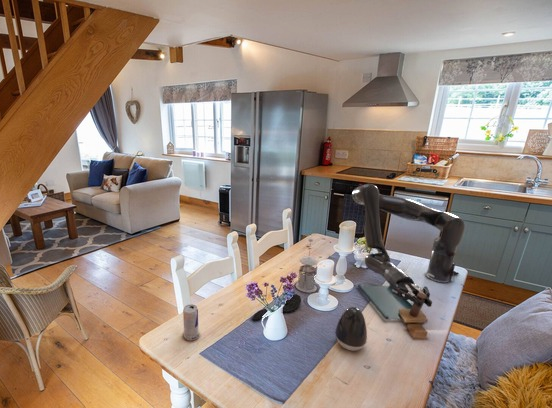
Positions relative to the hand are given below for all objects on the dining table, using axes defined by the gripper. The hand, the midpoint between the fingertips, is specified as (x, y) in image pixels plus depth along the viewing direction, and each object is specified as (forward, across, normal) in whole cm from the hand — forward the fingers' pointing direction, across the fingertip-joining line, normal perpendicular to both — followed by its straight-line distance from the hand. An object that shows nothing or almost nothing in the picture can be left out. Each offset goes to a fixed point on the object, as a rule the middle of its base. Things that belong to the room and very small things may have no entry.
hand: (425, 304), depth 110 cm
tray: (-20, 0, +14) cm, 24 cm away
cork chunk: (-1, 0, +14) cm, 14 cm away
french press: (-33, -32, +14) cm, 48 cm away
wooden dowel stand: (-6, 0, +11) cm, 12 cm away
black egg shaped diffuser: (+4, -28, +14) cm, 31 cm away
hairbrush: (-16, -50, +13) cm, 54 cm away
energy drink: (-1, -85, +13) cm, 86 cm away
